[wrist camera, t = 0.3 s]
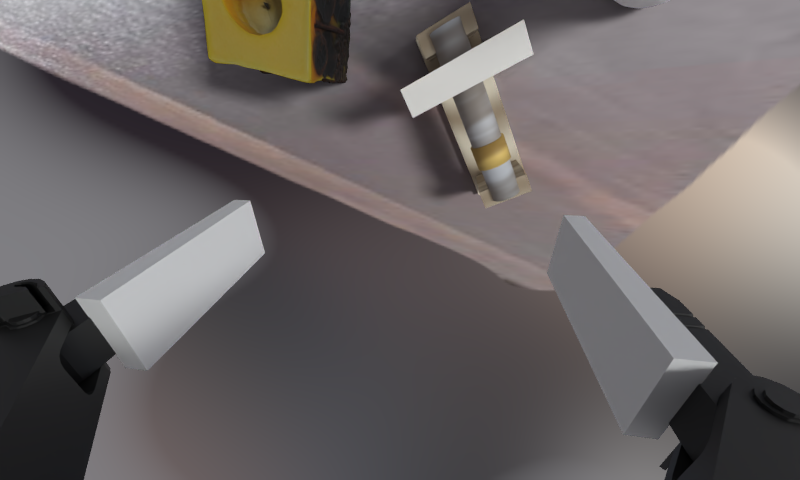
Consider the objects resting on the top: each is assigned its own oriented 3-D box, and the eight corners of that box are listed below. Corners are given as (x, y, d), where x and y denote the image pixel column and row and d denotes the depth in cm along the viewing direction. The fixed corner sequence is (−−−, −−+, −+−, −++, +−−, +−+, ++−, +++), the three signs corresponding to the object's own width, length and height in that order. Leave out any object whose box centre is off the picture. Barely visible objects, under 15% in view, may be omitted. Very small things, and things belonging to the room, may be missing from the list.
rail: (415, 39, 32) (406, 31, 25) (469, 6, 30) (474, -13, 23) (478, 193, 39) (483, 218, 33) (525, 174, 37) (541, 197, 30)
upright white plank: (413, 85, 33) (400, 89, 25) (503, 34, 30) (523, 19, 21) (422, 106, 34) (412, 117, 26) (510, 59, 31) (533, 54, 22)
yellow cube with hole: (347, 83, 35) (314, 87, 27) (266, 67, 36) (206, 65, 27) (355, -29, 30) (317, -70, 21) (260, -47, 30) (184, -94, 22)
